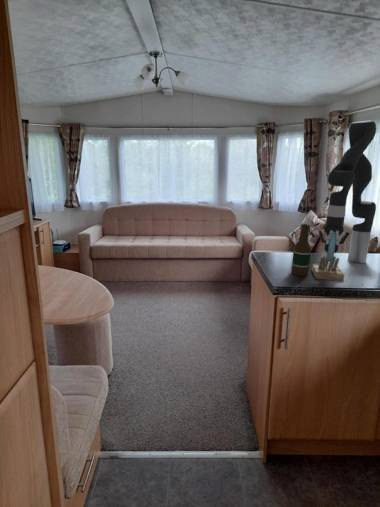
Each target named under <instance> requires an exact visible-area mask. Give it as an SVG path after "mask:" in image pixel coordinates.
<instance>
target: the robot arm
mask: <svg viewBox="0 0 380 507" xmlns="http://www.w3.org/2000/svg"><path fill="white" fill-rule="evenodd" d="M376 133H377V125H376V122H375V121H374V120H363V121H362V120H361V121H354V122H351V123H350V124H349V127H348V140H349V147H350V148H348V149H347V150H345V152H344V154H342V157H341V159H340V161H339V163H338V164H336V165H335V167H333V168H332V170H330V173H328V176H327V182H328V184H329V185H330V186H332V187H342V189H341V190H339V191H338V190H337V191H332V192H331V193H330V195H329V201H328V208H327V211H326V212H327V213H326V220H325V225H324V227H323V229H318V230H317V232H318V235H319V239H320V242H321V243H323V244H324V247H323V250H324V251H325V253H327V252H328V246H329V244H328V243H329V240H330V238H331V235H332V233H333V232H336V245H335V252H334V254H336V253H337V252H338V251H339V246H340V245H343V244H344V243H345V241H346V240H347V238H348V237H349V235H350V232H348V231H347V230H345V229H344V225H345V223H344V222H345V216H346V207H347V200H348V196H349V193H350V190H351V188H352V200H351V214H352V216H353V217H354V218H356V219H357V218H358V219H364V220H363V221H362V222H361V223H356V224H353V225H352V229H351V236H350V242H349V247H348V254H347V255H348V256H347V262H351V263H355V264H365V263H366V262H367V257H368V251H369V246H370V238H371V234H372V229H373V225H374V221H375V220H374V219H375V215H376V211H377V205H376V203H375V202H374V201H369V200H368V201H367V200H362V195H363V193H364V191H365V190H366V188H367V187H368V186H369V184H370V183H371V181H372V178H373V167H372V163H371V161H370V160H369V159H368V157H367V156H366V155H365V153H364V152H365V150H366V149H368V147H369V145H370V144H371V143H372V141H373V140H374V138H375V135H376ZM324 233H325V234H326V236H325V239H324V236H323V235H324ZM341 235H342V237H341V239H340V236H341Z"/></svg>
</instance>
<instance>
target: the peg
mask: <svg viewBox="0 0 380 507" xmlns="http://www.w3.org/2000/svg"><path fill="white" fill-rule="evenodd" d="M328 244H329V246H328V252H326V255H325V258H326V259H327V261H329V262H330V260H331V259H332V260H333V259H334V256H335V253H334V252H335V245H336V232H333V233H332V235H331V238H330V240H329V243H328Z"/></svg>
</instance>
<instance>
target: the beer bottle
mask: <svg viewBox="0 0 380 507" xmlns="http://www.w3.org/2000/svg"><path fill="white" fill-rule="evenodd" d="M309 228H310V224H307V223H302V224H300V232H299V238H298V240H297V241H296V243H295V245H294V247H293V252H292V262H291V274H293V275H294V276H298V277H306V276H308V274H309V271H310V270H309V269H310V260H311V253H312V248H311V245H310V243H309Z"/></svg>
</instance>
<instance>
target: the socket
mask: <svg viewBox="0 0 380 507" xmlns="http://www.w3.org/2000/svg"><path fill="white" fill-rule="evenodd" d="M339 262H340V257H336V256H335V255H334V259H333V260H332V259H331V260H330V261H327V259H326V255H322V256H321V257H320V260H319V264H317V263H316V264H315V263H312V265H311V266H312V268H311V271H312V274H313V276H314V278H315V279H319V280H329V281H338V282H344V279H345V274H344V272H343V271H342V270H341V268H340V267H339V266H338V265H339Z"/></svg>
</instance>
